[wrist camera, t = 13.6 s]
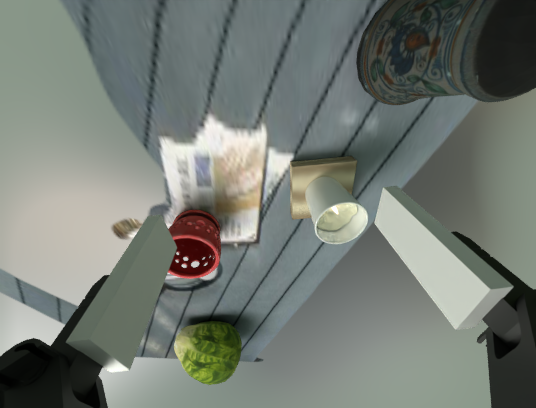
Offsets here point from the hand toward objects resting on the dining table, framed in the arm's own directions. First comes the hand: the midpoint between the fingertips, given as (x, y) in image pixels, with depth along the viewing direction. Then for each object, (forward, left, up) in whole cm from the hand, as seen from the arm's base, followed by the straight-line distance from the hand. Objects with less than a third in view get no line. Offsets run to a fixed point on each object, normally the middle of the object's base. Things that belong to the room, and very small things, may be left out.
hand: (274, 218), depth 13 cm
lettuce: (+73, -25, -34) cm, 84 cm away
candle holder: (+17, +13, -31) cm, 38 cm away
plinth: (+17, +13, -34) cm, 40 cm away
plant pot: (+25, -18, -34) cm, 46 cm away
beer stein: (-10, +25, -34) cm, 44 cm away
